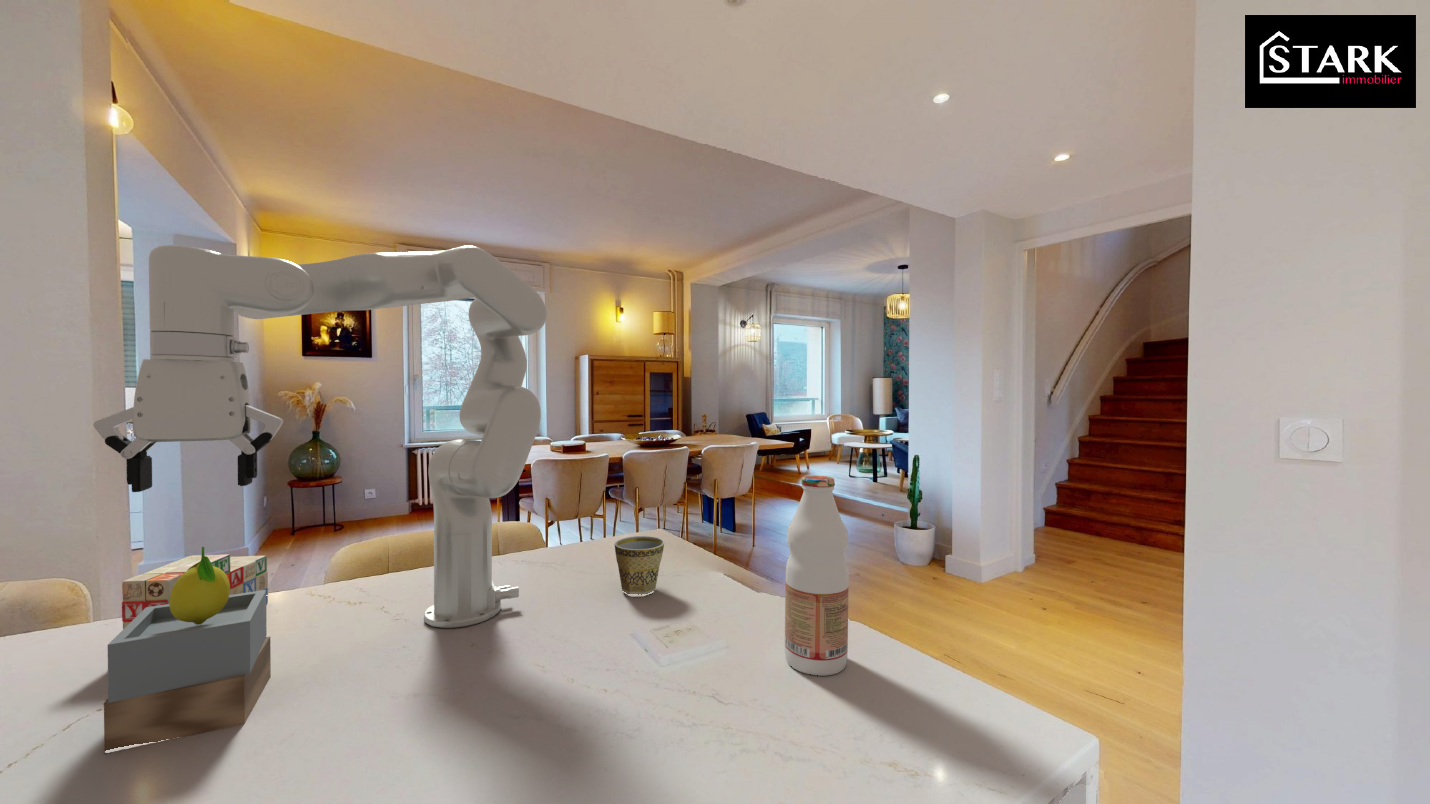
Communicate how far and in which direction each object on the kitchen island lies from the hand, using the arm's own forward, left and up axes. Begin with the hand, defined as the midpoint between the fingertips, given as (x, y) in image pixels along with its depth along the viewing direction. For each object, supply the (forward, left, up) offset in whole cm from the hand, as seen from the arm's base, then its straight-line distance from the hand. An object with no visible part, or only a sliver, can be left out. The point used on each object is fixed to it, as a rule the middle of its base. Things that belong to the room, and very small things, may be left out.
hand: (195, 487), depth 67 cm
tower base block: (0, 0, -29) cm, 29 cm away
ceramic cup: (-64, -16, -28) cm, 72 cm away
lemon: (0, 0, -18) cm, 18 cm away
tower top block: (0, 0, -22) cm, 23 cm away
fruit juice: (-78, +24, -28) cm, 86 cm away
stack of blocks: (+8, -30, -29) cm, 42 cm away
